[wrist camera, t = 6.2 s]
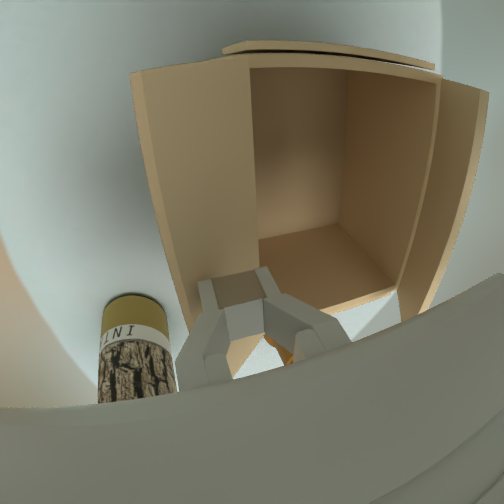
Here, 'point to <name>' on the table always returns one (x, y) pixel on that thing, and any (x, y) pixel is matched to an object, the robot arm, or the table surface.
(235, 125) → the flap near
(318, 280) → the carton
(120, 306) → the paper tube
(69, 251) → the table surface
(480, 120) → the flap far
